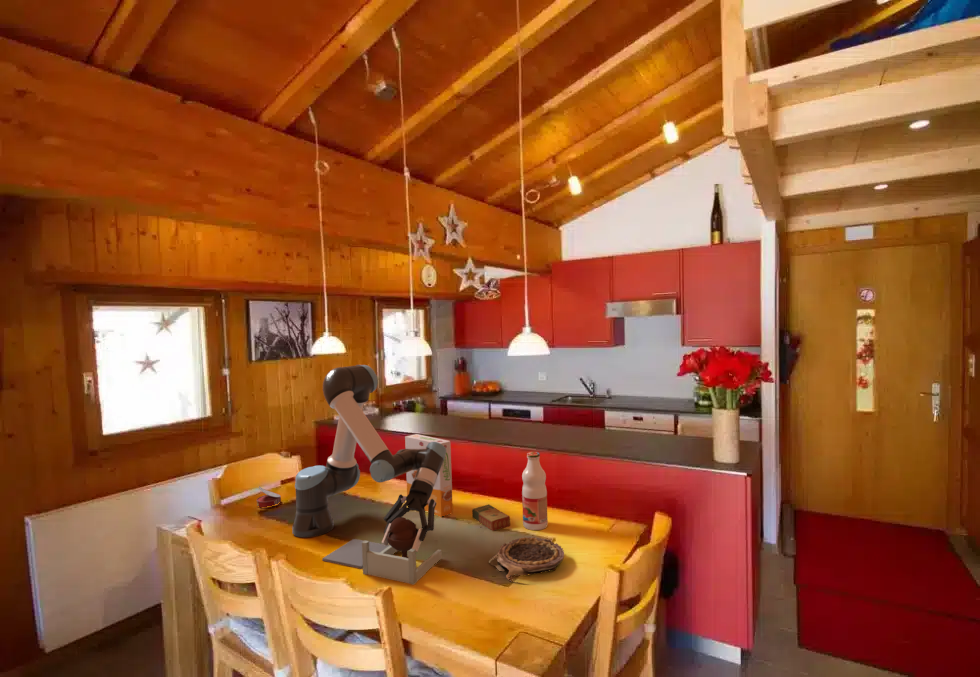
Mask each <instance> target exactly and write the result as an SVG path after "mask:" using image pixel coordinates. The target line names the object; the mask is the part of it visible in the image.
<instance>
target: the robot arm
mask: <svg viewBox="0 0 980 677" xmlns="http://www.w3.org/2000/svg"><path fill="white" fill-rule="evenodd" d="M378 383H379V382H378V376H377V374H376V372H375V370H374V369H373V368H372V367H371V366H369V365H366V364H356V365H350V366H340V367H339V366H338V367H335V368H332V369H331V370H330V371H329V372H327V374H326V375H325V377H324V378H323V382H322V392H323V397H324V399H325V401H326V403H327V404H328V405H329V408H331V409H334V410H335V411H336V413H337V414H338V421H337V425H336V433H335V438H334V442H333V448H332V449H333V450H332V454H331V455H330V456H328V457H327V460H326V465H320V464H319V465H314V466H308V467H305V468H303V469H301V470H299V471H298V472H297V474H296V475H295V484H294V488H295V504H296V505H295V507H296V512H295V517H294V520H293V521H294V522H293V524H292V527H291V529H292V531H291V532H292V535H293V534H294V535H293V536H294V537H299V538H313V537H314V538H315V537H318V536H322V535H324V534H327V533H329V532H330V531H332V530H333V529H334V525H335V524H334V521H335V520H334V519H333V517H332V514H331V511H330V508H329V498H330V497H332V496H335V495H337V494H340V493H343V492H346V491H348V490H350V489H352V488H354V487H355V486H356V485H357V484H358V482H359V480H360V476H361V470H360V469H359V468H360V466H359V464H358V463H357V460H356V458H355V452H356V448H357V444H358V446H359V447H360V448H361V450H362V451H363V453H364V454H365V457H367V459H368V460H369V462H370V467H369V473H370V477H371V479H372V480H373V481H374V482H376V483H384V482H387V481H388V482H389V481H390V480H391V481H392V479H394V478H397V477H399V476H402V475H404V474H406V473H407V472H409V471H412V470H417V473H416V475H415V477H414V481H413V483H412V485H411V488H410V491H409V494H408V495H407V494H406V495H402V493H401V494H399V495H398V497H397V500H396V501H395V502H394V504H393V505H392V506H391V508H390V509H389V511H388V512H387V513H386V514H385V516H384V517H383V521H384V522H385V523H386V525H385V528H384V531H383V533H384V535H383V538H382V540H381V543H380V544H384V545H385V546H387V545H389V543H388V540H387V534H388V532H390V531H391V529H390V526H391V523H392V521H393V520H394V519H396V518H399V517H404V516H406V514H407V513H409V512H410V511H416V512H418V513H419V518H420V524H421V528H419V531H418V533H417V536H416V539H415V542H414V544H413V547H412V549H415V550H416V553H418V552H419V549H420V546H421V543H422V542H424V541H425V538H426V536H427V533H428V532H430V531H431V532H433V531H434V530H435V515H434V510H435V506H436V502H435V501H434V500H433V499H431V500H429V498H430V496H431V494H432V491H433V487H434V485H435V482H436V480H437V477H438V474H439V471H440V469H441V466H442V464H443V461H444V458H445V455H446V448H445V447H444V445H442V444H440V443H438V442H430V443H428V445H427V446H426V449H406V448H402V449H399V450H397V452H396V453H395V454H393V453H392V452H391V450H390V449H389V448H388V447H387V445H386V443H385V442H384V441H383V439H382V438H381V436H380V435H379V433H378V432H377V430H376V428H374V426H373V424H372V423H371V421H370V419H368V417H367V416H366V414H365V413H364V410H363V409H364V405H365V404H366V403H368V402H369V399H370V395H371V393H373V392H375V391H376V389H377V388H378ZM427 504H428V506H429V507H428V512H427V516H426V512H425V508H424V507H425V506H426V505H427Z"/></svg>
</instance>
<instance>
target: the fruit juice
mask: <svg viewBox="0 0 980 677" xmlns="http://www.w3.org/2000/svg"><path fill="white" fill-rule="evenodd" d="M540 457H541V454H540V452H538V451H528V452H527V453H526V458H527V463H526V467H525V468H524V469H523V472H522V475H521V477H522V478H521V479H522V482H523V484H522V488H521V489H522V491H521V495H522V496H521V498H522V525H523V527H524V528H525V529H527V530H531V531H541V530H544V529H546V528H547V527H548V522H549V521H548V491H547V486H546V479H547V474H546V472H545V470H544V469H543V467H542V465H541V463H540Z"/></svg>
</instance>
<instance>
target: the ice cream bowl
mask: <svg viewBox="0 0 980 677" xmlns="http://www.w3.org/2000/svg"><path fill="white" fill-rule="evenodd" d="M390 529H391V531H390V532H388V534H387V540H388V545H390V546H391V547H393V548H394V549H396V550H398V551H397V552H401V557H404V558H408V551H409V550H410V549H412V547H413V544H414V542H415V539H416V536H417V533H418V531H419V529H418V528H417V524H416V523H414V522H413V521H412V520H411V519H408V518H406V517H404V516H402V517H399V518H396V519H394V520H393V521H392V523H391V526H390Z"/></svg>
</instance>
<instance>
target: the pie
mask: <svg viewBox="0 0 980 677" xmlns="http://www.w3.org/2000/svg"><path fill="white" fill-rule="evenodd" d="M496 555H498V556H497V557H496ZM493 557H496V560H497V562H496V563H497V564H492V563H491V565H492V566H495V569H496V568H497V569H498V570H499V571H505V572H506V569H507V570H508V573H507V574H506V575H505V577H506V579H507V580H508V581H509V582H512V581H511V580H509V579H510V578H508V577H509V576H510V575H514V574H518V575H517V576H519V575H526V576H529V575H528V574H530V575H535V574H534V573H540V574H542V573H546V572H545V571H548V572H550V571H551V570H554V571H556V569H557V567H558V565H560V564H561V562H563V560H564V558H565V551H564V548H562V546H561V545H559V544H558V543H555V542H553V541H552V540H550V539H546V538H545V539H544V538H541V537H540V538H539V537H537V538H536V537H528V536H527V537H525V536H523V537H520V538H517V539H513V540H511V541H509V542H508V543H506V542H504V543H503V544H502V545H500V548H499V550H498V552H496V554H495V555H494V556H492V557H491V558H493ZM556 566H557V567H556ZM505 568H506V569H505ZM555 568H556V569H555ZM497 569H496V570H497ZM498 570H497V571H498ZM549 570H550V571H549ZM499 571H498V572H499ZM541 572H542V573H541ZM516 582H517V583H518V582H519V581H516ZM516 582H515V581H513V582H512V583H514V584H516ZM518 584H519V583H518ZM520 584H522V585H523V583H522V582H520ZM525 585H527V586H528V584H526V583H525Z"/></svg>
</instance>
